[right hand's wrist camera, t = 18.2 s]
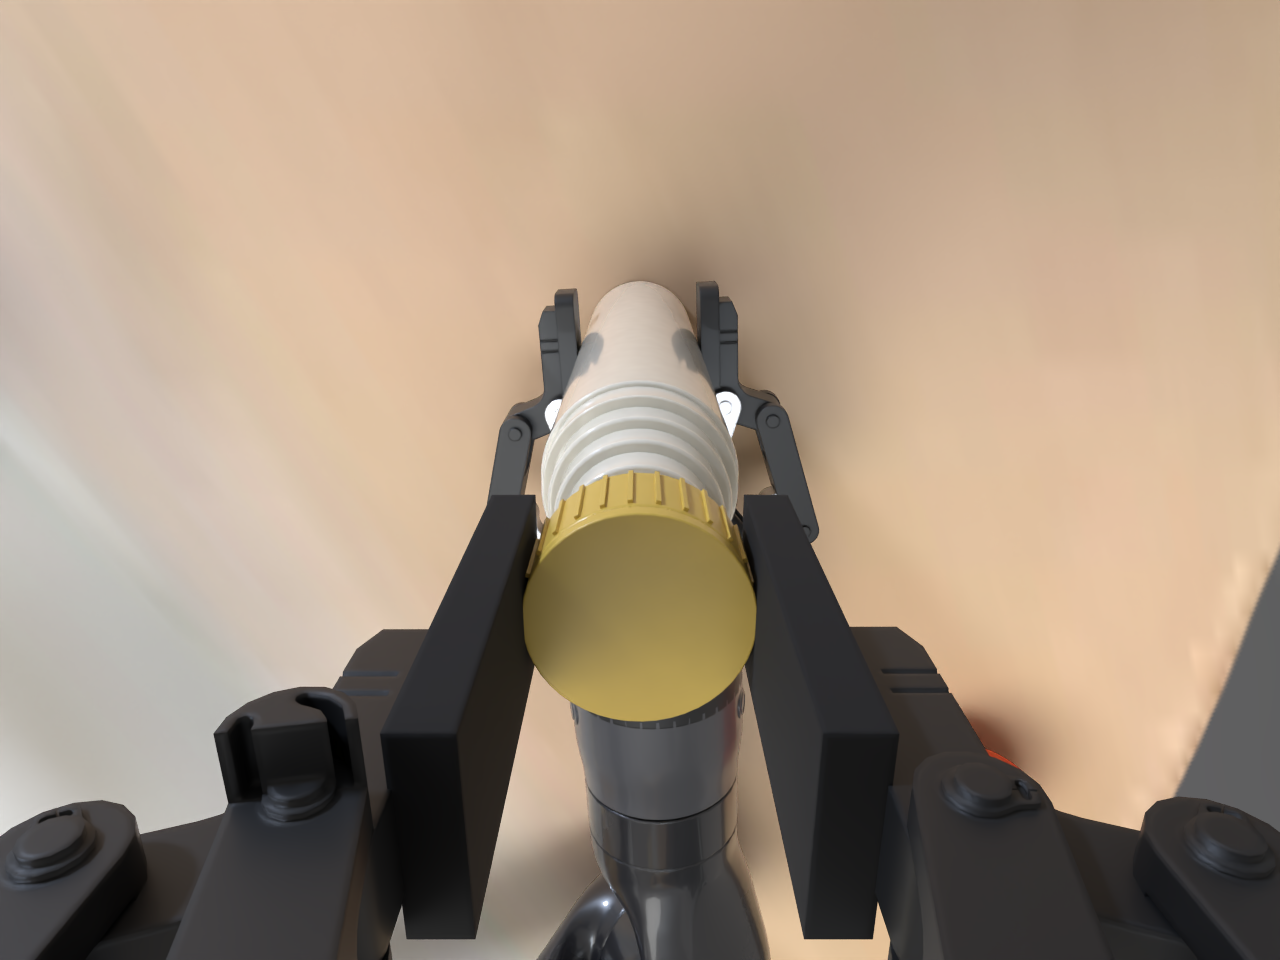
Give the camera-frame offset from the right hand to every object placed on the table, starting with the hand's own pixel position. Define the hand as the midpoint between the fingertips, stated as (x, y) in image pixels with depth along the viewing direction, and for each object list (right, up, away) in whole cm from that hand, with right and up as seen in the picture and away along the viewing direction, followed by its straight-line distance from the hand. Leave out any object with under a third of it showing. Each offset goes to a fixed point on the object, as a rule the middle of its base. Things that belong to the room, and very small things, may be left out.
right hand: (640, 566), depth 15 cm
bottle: (0, +8, +23) cm, 24 cm away
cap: (0, -1, -2) cm, 2 cm away
